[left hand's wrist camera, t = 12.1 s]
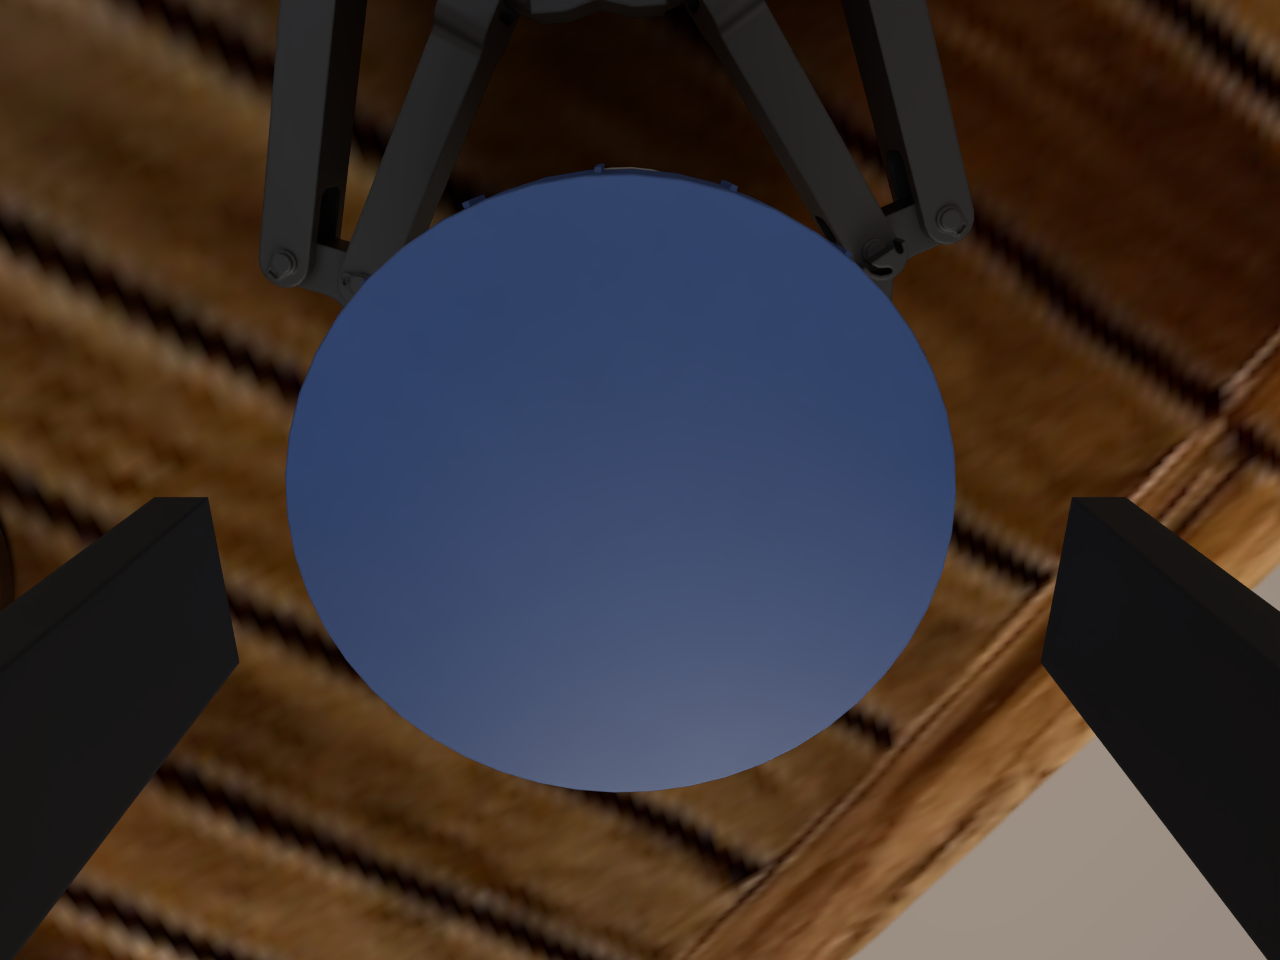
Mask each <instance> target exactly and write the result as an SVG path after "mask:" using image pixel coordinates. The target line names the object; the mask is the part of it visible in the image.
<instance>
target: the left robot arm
mask: <svg viewBox="0 0 1280 960" xmlns="http://www.w3.org/2000/svg"><path fill="white" fill-rule="evenodd" d="M13 594H14V588H13V575H12V568H11V563H10V557H9V553H8V549H7V546H6V543H5V539H4V536H3V533H2V531H1V528H0V960H13V959H14V957H15V956H16V955H17V953H18V952H19V951H20V949H21V948H22V947H23V945H24V944H25V943H26V941H27V940H28V939H29V938H30V936H31V935H32V934H33V932H34V931H35V930H36V928H37V927H38V926H39V924H40V923H41V922H42V921H43V919H44V918H45V917H46V915H47V914H48V913H49V911H50V910H51V909H52V907H53V906H54V905H55V903H56V902H57V901H58V900H59V898H60V897H61V896H62V894H63V893H64V892H65V890H66V889H67V888H68V886H69V885H70V884H71V883H72V881H73V880H74V879H75V877H76V876H77V875H78V873H79V872H80V871H81V869H82V868H83V867H84V865H85V864H86V863H87V862H88V860H89V859H90V858H91V856H92V855H93V854H94V852H95V851H96V850H97V848H98V847H99V846H100V844H101V843H102V842H103V841H104V839H105V838H106V837H107V835H108V834H109V833H110V831H111V830H112V829H113V827H114V826H115V825H116V824H117V822H118V821H119V820H120V818H121V817H122V816H123V814H124V813H125V812H126V810H127V809H128V808H129V806H130V805H131V804H132V803H133V801H134V800H135V799H136V797H137V796H138V795H139V793H140V792H141V791H142V789H143V788H144V787H145V785H146V784H147V783H148V782H149V780H150V779H151V778H152V776H153V775H154V774H155V772H156V771H157V770H158V768H159V767H160V766H161V765H162V763H163V762H164V761H165V759H166V758H167V757H168V755H169V754H170V753H171V751H172V750H173V749H174V747H175V746H176V745H177V744H178V742H179V741H180V740H181V738H182V737H183V736H184V734H185V733H186V732H187V730H188V729H189V728H190V726H191V725H192V724H193V723H194V721H195V720H196V719H197V717H198V716H199V715H200V713H201V712H202V711H203V709H204V708H205V707H206V706H207V704H208V703H209V702H210V700H211V699H212V698H213V696H214V695H215V694H216V692H217V691H218V690H219V688H220V687H221V686H222V685H223V683H224V682H225V681H226V679H227V678H228V677H229V675H230V674H231V673H232V671H233V670H234V669H235V667H236V666H237V665H238V664H239V658H238V653H237V648H236V642H235V637H234V632H233V627H232V621H231V616H230V611H229V606H228V600H227V595H226V590H225V585H224V579H223V574H222V569H221V564H220V558H219V553H218V548H217V543H216V537H215V532H214V527H213V522H212V516H211V511H210V506H209V501H208V497H154V498H153V499H151V500H150V501H149V502H147V503H146V504H145V505H143V506H142V507H141V508H139V509H138V510H137V511H135V512H134V513H133V514H131V515H130V516H129V517H127V518H126V519H124V520H123V521H122V522H120V523H119V524H118V525H116V526H115V527H114V528H112V529H111V530H110V531H108V532H107V533H106V534H104V535H103V536H102V537H100V538H99V539H97V540H96V541H95V542H93V543H92V544H91V545H89V546H88V547H87V548H85V549H84V550H83V551H81V552H80V553H79V554H77V555H76V556H75V557H73V558H72V559H71V560H69V561H68V562H66V563H65V564H64V565H62V566H61V567H60V568H58V569H57V570H56V571H54V572H53V573H52V574H50V575H49V576H48V577H46V578H45V579H44V580H42V581H41V582H40V583H38V584H37V585H35V586H34V587H33V588H31V589H30V590H29V591H27V592H26V593H25V594H23V595H22V596H21V597H19V598H18V599H17V600H15V601H14V602H13ZM1041 664H1042V665H1043V666H1044V667H1045V669H1046V670H1047V671H1048V673H1049V674H1050V675H1051V677H1052V678H1053V679H1054V681H1055V682H1056V683H1057V685H1058V686H1059V687H1060V688H1061V690H1062V691H1063V692H1064V694H1065V695H1066V696H1067V698H1068V699H1069V700H1070V702H1071V703H1072V704H1073V706H1074V707H1075V708H1076V709H1077V711H1078V712H1079V713H1080V715H1081V716H1082V717H1083V719H1084V720H1085V721H1086V723H1087V724H1088V725H1089V726H1090V728H1091V729H1092V730H1093V732H1094V733H1095V734H1096V736H1097V737H1098V738H1099V740H1100V741H1101V742H1102V744H1103V745H1104V746H1105V747H1106V749H1107V750H1108V751H1109V753H1110V754H1111V755H1112V757H1113V758H1114V759H1115V760H1116V762H1117V763H1118V765H1119V766H1120V767H1121V768H1122V770H1123V771H1124V772H1125V774H1126V775H1127V776H1128V778H1129V779H1130V780H1131V782H1132V783H1133V784H1134V785H1135V787H1136V788H1137V789H1138V791H1139V792H1140V793H1141V795H1142V796H1143V797H1144V799H1145V800H1146V801H1147V803H1148V804H1149V805H1150V806H1151V808H1152V809H1153V810H1154V812H1155V813H1156V814H1157V816H1158V817H1159V818H1160V820H1161V821H1162V822H1163V823H1164V825H1165V826H1166V827H1167V829H1168V830H1169V831H1170V833H1171V834H1172V835H1173V837H1174V838H1175V839H1176V841H1177V842H1178V843H1179V844H1180V846H1181V847H1182V848H1183V850H1184V851H1185V852H1186V854H1187V855H1188V856H1189V858H1190V859H1191V860H1192V862H1193V863H1194V864H1195V865H1196V867H1197V868H1198V869H1199V871H1200V872H1201V873H1202V875H1203V876H1204V877H1205V879H1206V880H1207V881H1208V882H1209V884H1210V885H1211V886H1212V888H1213V889H1214V890H1215V892H1216V893H1217V894H1218V896H1219V897H1220V898H1221V900H1222V901H1223V902H1224V903H1225V905H1226V906H1227V907H1228V909H1229V910H1230V911H1231V913H1232V914H1233V915H1234V917H1235V918H1236V919H1237V920H1238V922H1239V923H1240V924H1241V926H1242V927H1243V928H1244V930H1245V931H1246V932H1247V934H1248V935H1249V936H1250V938H1251V939H1252V940H1253V941H1254V943H1255V944H1256V945H1257V947H1258V948H1259V949H1260V951H1261V952H1262V953H1263V955H1264V956H1265V957H1266V959H1267V960H1280V611H1278V610H1277V609H1276V608H1274V607H1273V606H1272V605H1270V604H1269V603H1267V602H1266V601H1265V600H1263V599H1262V598H1261V597H1259V596H1258V595H1257V594H1255V593H1254V592H1253V591H1251V590H1250V589H1249V588H1247V587H1246V586H1245V585H1243V584H1242V583H1240V582H1239V581H1238V580H1236V579H1235V578H1234V577H1232V576H1231V575H1230V574H1228V573H1227V572H1226V571H1224V570H1223V569H1222V568H1220V567H1219V566H1218V565H1216V564H1215V563H1214V562H1212V561H1211V560H1209V559H1208V558H1207V557H1205V556H1204V555H1203V554H1201V553H1200V552H1199V551H1197V550H1196V549H1195V548H1193V547H1192V546H1191V545H1189V544H1188V543H1187V542H1185V541H1184V540H1183V539H1181V538H1180V537H1178V536H1177V535H1176V534H1174V533H1173V532H1172V531H1170V530H1169V529H1168V528H1166V527H1165V526H1164V525H1162V524H1161V523H1160V522H1158V521H1157V520H1156V519H1154V518H1153V517H1151V516H1150V515H1149V514H1147V513H1146V512H1145V511H1143V510H1142V509H1141V508H1139V507H1138V506H1137V505H1135V504H1134V503H1133V502H1131V501H1130V500H1129V499H1127V498H1126V497H1072V501H1071V506H1070V511H1069V516H1068V522H1067V527H1066V532H1065V537H1064V543H1063V548H1062V553H1061V558H1060V564H1059V569H1058V574H1057V579H1056V585H1055V590H1054V595H1053V600H1052V606H1051V611H1050V616H1049V621H1048V627H1047V632H1046V637H1045V642H1044V648H1043V653H1042V658H1041Z"/></svg>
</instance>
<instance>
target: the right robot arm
mask: <svg viewBox="0 0 1280 960" xmlns="http://www.w3.org/2000/svg"><path fill="white" fill-rule="evenodd" d="M841 1H842V5H843V9H844V13H845V17H846V21H847V24H848V28H849V32H850V36H851V40H852V44H853V48H854V51H855V55H856V59H857V63H858V67H859V71H860V74H861V78H862V82H863V86H864V90H865V94H866V98H867V101H868V105H869V109H870V113H871V117H872V121H873V125H874V128H875V132H876V136H877V140H878V144H879V148H880V152H881V155H882V159H883V163H884V167H885V171H886V175H887V179H888V182H889V186H890V190H891V194H892V198H893V203H891V204H888V205H886V206H884V207H881V208H880V206H879V204H878V203H877V201H876V199H875V197H874V196H873V194H872V192H871V190H870V188H869V187H868V185H867V183H866V181H865V179H864V178H863V176H862V174H861V172H860V170H859V169H858V167H857V165H856V163H855V162H854V160H853V158H852V156H851V154H850V153H849V151H848V149H847V147H846V145H845V144H844V142H843V140H842V138H841V137H840V135H839V133H838V131H837V129H836V128H835V126H834V124H833V122H832V120H831V119H830V117H829V115H828V113H827V111H826V110H825V108H824V106H823V104H822V103H821V101H820V99H819V97H818V95H817V94H816V92H815V90H814V88H813V86H812V85H811V83H810V81H809V79H808V78H807V76H806V74H805V72H804V70H803V69H802V67H801V65H800V63H799V61H798V60H797V58H796V56H795V54H794V53H793V51H792V49H791V47H790V45H789V44H788V42H787V40H786V38H785V36H784V35H783V33H782V31H781V29H780V27H779V26H778V24H777V22H776V20H775V19H774V17H773V15H772V13H771V11H770V9H769V8H768V6H767V3H766V1H765V0H438V1H437V4H436V7H435V11H434V18H433V27H432V30H431V33H430V36H429V39H428V41H427V44H426V47H425V49H424V52H423V54H422V57H421V60H420V62H419V65H418V67H417V70H416V73H415V75H414V78H413V80H412V83H411V86H410V88H409V91H408V93H407V96H406V99H405V101H404V104H403V106H402V109H401V112H400V114H399V117H398V119H397V122H396V125H395V127H394V130H393V132H392V135H391V138H390V140H389V143H388V145H387V148H386V151H385V153H384V156H383V158H382V161H381V164H380V166H379V169H378V171H377V174H376V177H375V179H374V182H373V184H372V187H371V190H370V192H369V195H368V197H367V200H366V203H365V205H364V208H363V210H362V213H361V216H360V218H359V221H358V223H357V226H356V229H355V231H354V234H353V236H352V239H351V242H349V241H345V240H342V239H340V236H341V227H342V218H343V209H344V200H345V192H346V183H347V174H348V165H349V156H350V148H351V139H352V130H353V121H354V112H355V104H356V95H357V86H358V77H359V68H360V60H361V51H362V42H363V33H364V24H365V16H366V7H367V0H280V6H279V18H278V31H277V43H276V55H275V67H274V79H273V91H272V104H271V116H270V128H269V140H268V152H267V164H266V177H265V189H264V201H263V213H262V225H261V238H260V250H259V263H260V268H261V270H262V272H263V274H264V276H265V277H266V278H267V279H268V280H269V281H270V282H271V283H273V284H275V285H278V286H280V287H293V286H297V287H301V288H304V289H308V290H311V291H315V292H318V293H322V294H325V295H327V296H330V297H332V298H333V299H335V300H336V301H338V302H339V303H340V305H341V306H342V307H343V308H344V307H345V306H346V305H347V303H348V302H349V301H350V300H351V299H352V297H353V296H354V295H355V294H356V292H357V291H358V290H359V289H360V288H361V286H360V285H359V284H360V283H361V282H362V281H363V280H364V279H366V278H368V277H370V276H371V275H372V274H373V273H374V272H376V271H377V270H378V269H379V268H380V267H381V266H382V265H383V264H384V263H385V262H387V261H388V260H389V259H390V258H391V257H392V256H393V255H394V254H395V253H396V252H397V251H399V250H400V249H401V248H402V247H403V246H405V245H406V244H408V243H409V242H411V241H412V240H414V239H415V238H416V237H418V236H419V235H421V234H422V233H424V232H425V231H427V230H428V228H429V225H430V223H431V221H432V218H433V216H434V213H435V211H436V208H437V206H438V204H439V201H440V199H441V196H442V194H443V191H444V189H445V187H446V184H447V182H448V179H449V177H450V175H451V172H452V170H453V167H454V165H455V162H456V160H457V158H458V155H459V153H460V150H461V148H462V145H463V143H464V141H465V138H466V136H467V133H468V131H469V129H470V126H471V124H472V121H473V119H474V116H475V114H476V112H477V109H478V107H479V104H480V102H481V99H482V97H483V95H484V92H485V90H486V87H487V85H488V83H489V80H490V78H491V75H492V73H493V70H494V68H495V66H496V64H497V62H498V60H499V59H500V57H501V56H502V54H503V53H504V51H505V49H506V47H507V44H508V42H509V40H510V37H511V35H512V33H513V30H514V28H515V25H516V23H517V21H518V18H519V16H520V15H521V16H524V17H526V18H529V19H533V20H536V21H537V22H538V23H539V24H555V23H569V22H572V21H575V20H578V19H580V18H583V17H586V16H588V15H591V14H594V13H596V12H599V11H605V12H609V13H614V14H618V15H622V16H627V17H631V18H641V17H656V16H664V15H665V12H666V11H668V10H671V9H673V8H675V7H677V6H678V5H680V4H681V3H684V5H685V7H686V8H687V10H688V12H689V14H690V15H691V17H692V19H693V20H694V22H695V24H696V25H697V27H698V29H699V30H700V32H701V34H702V35H703V37H704V38H705V40H706V41H707V42H708V43H709V44H710V46H711V47H712V48H713V50H714V51H715V53H716V55H717V56H718V58H719V60H720V62H721V63H722V65H723V67H724V68H725V70H726V72H727V73H728V75H729V77H730V79H731V80H732V82H733V84H734V85H735V87H736V89H737V90H738V92H739V94H740V95H741V97H742V99H743V101H744V102H745V104H746V106H747V107H748V109H749V111H750V112H751V114H752V116H753V118H754V119H755V121H756V123H757V124H758V126H759V128H760V129H761V131H762V133H763V135H764V136H765V138H766V140H767V141H768V143H769V145H770V146H771V148H772V150H773V152H774V153H775V155H776V157H777V158H778V160H779V162H780V163H781V165H782V167H783V169H784V170H785V172H786V174H787V175H788V177H789V179H790V180H791V182H792V184H793V185H794V187H795V189H796V191H797V192H798V194H799V196H800V197H801V199H802V201H803V202H804V204H805V206H806V208H807V209H808V211H809V213H810V214H811V216H812V218H813V219H814V221H815V223H816V225H817V226H818V228H819V230H820V231H821V233H822V235H823V236H824V238H825V239H826V240H829V241H831V242H832V243H834V244H836V245H838V246H840V247H842V248H844V249H846V250H848V251H849V252H850V253H851V254H852V256H851V257H850V259H852V260H853V261H854V262H856V264H857V265H858V266H859V267H860V268H861V269H862V270H863V271H864V272H865V273H866V274H867V275H868V276H869V277H870V278H871V279H872V280H873V281H874V282H875V283H876V284H877V286H878V287H879V288H880V289H881V290H882V291H883V292H884V293H885V294H886V295H887V296H888V297H889V299H890V300H891V302H892V286H893V280H894V277H895V276H896V275H897V274H899V273H900V272H901V271H902V270H903V268H904V266H905V264H906V262H907V260H908V259H909V258H911V257H913V256H914V255H917V254H919V253H921V252H924V251H926V250H928V249H931V248H933V247H935V246H938V245H940V244H945V245H946V244H952V243H956V242H958V241H960V240H961V239H963V238H964V237H965V236H966V235H967V234H968V232H969V231H970V230H971V227H972V225H973V222H974V209H973V204H972V200H971V196H970V191H969V187H968V183H967V178H966V174H965V169H964V165H963V161H962V156H961V152H960V148H959V143H958V139H957V134H956V130H955V126H954V121H953V117H952V113H951V108H950V104H949V99H948V95H947V91H946V86H945V82H944V77H943V73H942V69H941V64H940V60H939V56H938V51H937V47H936V42H935V38H934V34H933V29H932V25H931V21H930V16H929V12H928V7H927V3H926V0H841Z"/></svg>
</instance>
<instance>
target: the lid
mask: <svg viewBox="0 0 1280 960" xmlns="http://www.w3.org/2000/svg"><path fill="white" fill-rule="evenodd" d="M737 189H738V186H736V185H734V184H732V183H729V182H727V181H724V180H721V183H720V184H718V183H714V182H710V181H706V180H702V179H698V178H693V177H689V176H685V175H681V174H677V173H670V172H661V171H651V170H642V169H605V168H604V164H598V165H597V166H595V167H594V170H585V171H580V172H574V173H568V174H562V175H557V176H551V177H545V178H542V179H539V180H536V181H533V182H530V183H527V184H524V185H521V186H518V187H514V188H511V189H508V190H505V191H503V192H500V193H498V194H496V195H494V196H491V197H489V198H487V199H486V198H485V196H484V195H481V196H478V197H476V198H473V199H471V200H468V201H466V202H464V203H462V205H463V207H464V210H462V211H460V212H458V213H456V214H454V215H452V216H450V217H448V218H446V219H444V220H442V221H440V222H439V223H437V224H436V225H434V226H433V227H431V228H430V229H428V230H427V231H425V232H424V233H422V234H421V235H419V236H418V237H416V238H415V239H414V240H412V241H411V242H409V243H408V244H406V245H405V246H403V247H402V248H401V249H400V250H399V251H397V252H396V253H395V254H394V255H393V256H392V257H391V258H390V259H389V260H388V261H387V262H385V263H384V264H383V265H382V266H381V267H380V268H379V269H378V270H377V271H376V272H374V273H373V274H372V275H371V276H370V277H368V278H366V279H364V280H363V281H362V282H361V283H360V284H359V285H360V286H361V288H360V289H359V290H358V291H357V292H356V294H355V295H354V296H353V297H352V299H351V300H350V301H349V302H348V303H347V305H346V306H345V307H344V308H343V310H342V311H341V312H340V313H339V315H338V316H337V318H336V320H335V321H334V323H333V325H332V326H331V328H330V330H329V331H328V333H327V335H326V336H325V338H324V340H323V341H322V343H321V345H320V346H319V348H318V350H317V351H316V354H315V356H314V358H313V361H312V363H311V366H310V368H309V371H308V373H307V375H306V378H305V380H304V383H303V385H302V388H301V390H300V393H299V397H298V401H297V405H296V409H295V413H294V417H293V421H292V425H291V429H290V433H289V443H288V453H287V463H286V474H285V476H286V497H287V516H288V521H289V527H290V532H291V537H292V542H293V548H294V553H295V557H296V560H297V563H298V566H299V569H300V572H301V575H302V578H303V581H304V583H305V586H306V589H307V592H308V595H309V597H310V599H311V601H312V603H313V605H314V607H315V609H316V611H317V613H318V615H319V617H320V619H321V621H322V623H323V625H324V627H325V629H326V630H327V632H328V633H329V635H330V636H331V638H332V639H333V641H334V642H335V644H336V645H337V647H338V648H339V650H340V651H341V653H342V654H343V656H344V657H345V659H346V660H347V661H348V663H349V664H350V665H351V666H352V667H353V668H354V669H355V671H356V672H357V673H358V674H359V675H360V676H361V678H362V679H363V680H364V681H365V682H366V683H367V684H368V686H369V687H370V688H371V689H372V690H373V691H374V692H375V693H376V694H377V695H378V696H379V697H381V698H382V699H383V700H384V701H385V702H386V703H387V704H388V705H389V706H391V707H392V708H393V709H394V710H395V711H396V712H397V713H398V714H399V715H400V716H402V717H403V718H405V719H406V720H407V721H409V722H410V723H412V724H413V725H414V726H416V727H417V728H419V729H420V730H421V731H423V732H424V733H426V734H427V735H428V736H430V737H431V738H433V739H435V740H436V741H438V742H440V743H442V744H444V745H445V746H447V747H449V748H451V749H453V750H454V751H456V752H458V753H460V754H462V755H463V756H465V757H467V758H470V759H472V760H475V761H477V762H479V763H482V764H484V765H487V766H489V767H491V768H494V769H496V770H499V771H501V772H504V773H508V774H511V775H514V776H518V777H521V778H525V779H528V780H531V781H535V782H538V783H544V784H549V785H555V786H560V787H566V788H571V789H578V790H592V791H605V792H636V791H656V790H663V789H670V788H678V787H685V786H691V785H695V784H699V783H703V782H707V781H711V780H715V779H719V778H723V777H727V776H730V775H733V774H736V773H738V772H741V771H744V770H747V769H749V768H752V767H755V766H757V765H760V764H763V763H765V762H767V761H769V760H771V759H773V758H775V757H777V756H779V755H781V754H783V753H785V752H787V751H789V750H791V749H793V748H795V747H797V746H799V745H800V744H802V743H803V742H805V741H807V740H808V739H810V738H811V737H813V736H814V735H816V734H817V733H819V732H820V731H822V730H824V729H825V728H827V727H828V726H830V725H831V724H832V723H833V722H835V721H836V720H837V719H838V718H839V717H841V716H842V715H843V714H844V713H845V712H847V711H848V710H849V709H850V708H852V707H853V706H854V705H855V704H856V703H858V702H859V701H860V700H861V699H862V698H863V697H864V696H865V695H866V693H867V692H868V691H869V690H870V689H871V688H872V687H873V686H874V685H875V684H876V683H877V682H878V681H879V680H880V679H881V678H882V677H883V676H884V675H885V674H886V672H887V671H888V670H889V668H890V667H891V665H892V664H893V663H894V661H895V660H896V659H897V657H898V656H899V655H900V653H901V652H902V651H903V649H904V648H905V647H906V645H907V644H908V643H909V641H910V639H911V637H912V635H913V634H914V632H915V630H916V628H917V627H918V625H919V623H920V621H921V619H922V618H923V616H924V614H925V612H926V611H927V609H928V606H929V604H930V601H931V599H932V596H933V594H934V591H935V589H936V586H937V584H938V581H939V579H940V576H941V574H942V570H943V566H944V562H945V558H946V554H947V550H948V546H949V542H950V538H951V534H952V525H953V516H954V506H955V497H956V484H955V456H954V448H953V443H952V437H951V432H950V426H949V421H948V415H947V411H946V408H945V405H944V402H943V399H942V396H941V393H940V390H939V387H938V384H937V381H936V378H935V375H934V372H933V370H932V368H931V366H930V364H929V362H928V360H927V358H926V354H925V352H924V350H922V348H921V346H920V345H919V343H918V341H917V339H916V337H915V335H914V333H913V331H912V330H911V328H910V327H909V326H908V324H907V323H906V321H905V320H904V319H903V317H902V316H901V314H900V313H899V312H898V310H897V309H896V307H895V306H894V305H893V303H892V302H891V300H890V299H889V297H888V296H887V295H886V294H885V293H884V292H883V291H882V290H881V289H880V288H879V287H878V286H877V284H876V283H875V282H874V281H873V280H872V279H871V278H870V277H869V276H868V275H867V274H866V273H865V272H864V271H863V270H862V269H861V268H860V267H859V266H858V265H857V264H856V262H854V261H853V260H852V259H850V257H851V256H852V254H851V253H850V252H849V251H848V250H846V249H844V248H842V247H840V246H838V245H836V244H834V243H832V242H831V241H829V240H826V239H825V238H824V237H822V236H821V235H820V234H819V233H817V232H815V231H813V230H812V229H810V228H808V227H807V226H805V225H803V224H801V223H800V222H798V221H796V220H794V219H793V218H791V217H789V216H787V215H786V214H784V213H782V212H781V211H779V210H777V209H775V208H773V207H771V206H769V205H767V204H765V203H763V202H761V201H759V200H757V199H755V198H752V197H750V196H747V195H745V194H742V193H740V192H738V191H737Z"/></svg>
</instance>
